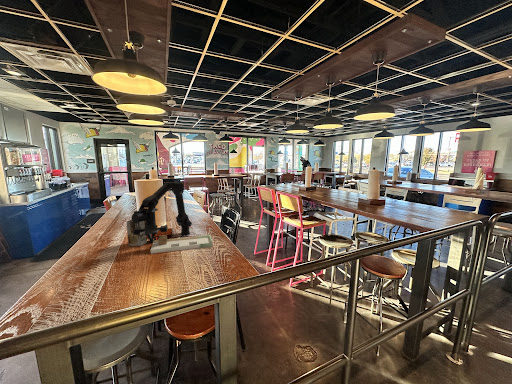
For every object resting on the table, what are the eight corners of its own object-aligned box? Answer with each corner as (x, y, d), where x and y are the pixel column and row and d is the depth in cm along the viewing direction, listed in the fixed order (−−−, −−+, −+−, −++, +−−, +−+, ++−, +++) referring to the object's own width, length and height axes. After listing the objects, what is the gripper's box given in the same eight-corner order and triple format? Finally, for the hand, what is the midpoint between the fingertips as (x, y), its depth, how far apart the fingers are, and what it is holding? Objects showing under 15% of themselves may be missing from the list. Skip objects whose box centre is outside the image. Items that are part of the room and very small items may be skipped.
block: (159, 242, 135) (159, 235, 134) (167, 241, 136) (166, 235, 135) (158, 245, 130) (158, 238, 130) (166, 244, 132) (166, 237, 131)
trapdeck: (153, 245, 135) (153, 240, 134) (210, 239, 146) (210, 234, 146) (150, 253, 124) (150, 247, 123) (212, 246, 135) (212, 240, 134)
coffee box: (147, 242, 141) (145, 219, 139) (141, 246, 135) (139, 221, 132) (134, 241, 142) (132, 218, 140) (127, 245, 135) (125, 221, 133)
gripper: (129, 223, 118) (131, 250, 121) (165, 221, 124) (166, 246, 126) (134, 218, 129) (136, 243, 131) (167, 216, 135) (168, 239, 137)
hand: (151, 243), depth 131 cm, fingers closed
